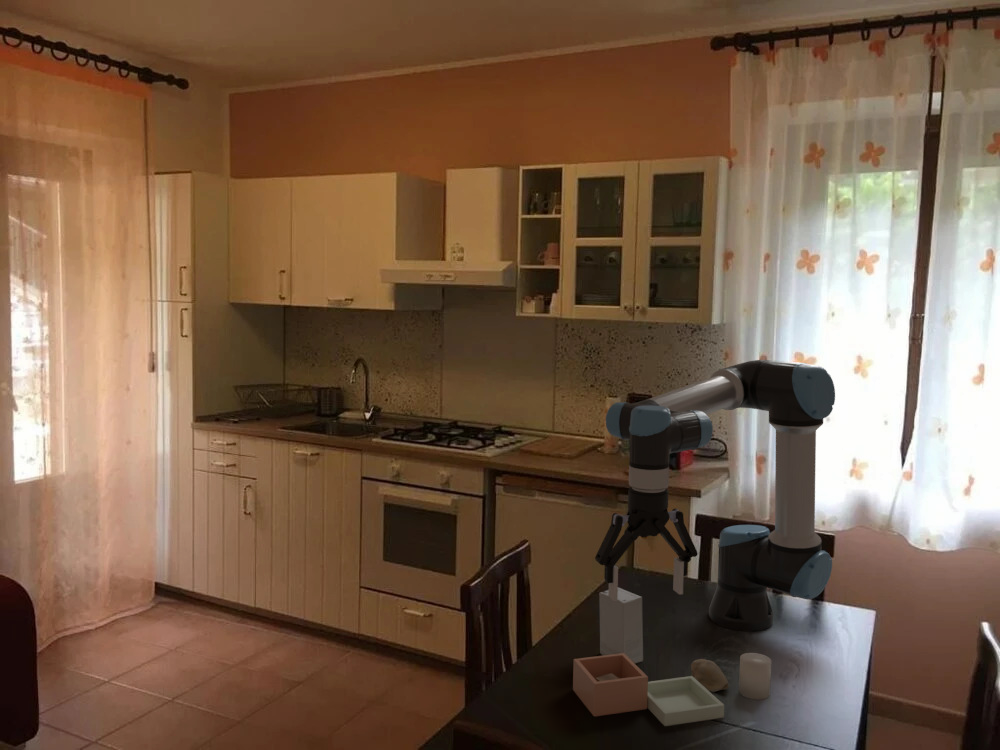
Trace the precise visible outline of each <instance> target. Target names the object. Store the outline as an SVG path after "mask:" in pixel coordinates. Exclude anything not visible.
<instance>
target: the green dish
mask: <svg viewBox="0 0 1000 750" xmlns="http://www.w3.org/2000/svg"><path fill="white" fill-rule="evenodd" d="M712 693H713V692H711V691H709V690H707V689H706V688H705V687H704V686H703V685H702V684H700V683H699V682H698V681H697V680H696V679H695V678H694V677H693V676H691V675H689V676H681V677H674V678H665V679H660V680H651V681H648V696H647V709H648V710H649V711H650V712H651V713H652V715H654V717H655V718H656V719H657V720H658V721H659V722H660V723H661V724H662V725H663V726H664V727H669V726H677V725H682V724H687V723H688V724H689V723H690V724H691V723H697V722H702V721H710V720H716V719H722V718H723V719H724V718H725V704H724V703H723V702H722V701H720V700H719V698H717V697H716V695H714V694H712Z"/></svg>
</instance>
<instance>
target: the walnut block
mask: <svg viewBox="0 0 1000 750" xmlns="http://www.w3.org/2000/svg"><path fill="white" fill-rule="evenodd" d="M614 679H620V678H618V677H617V676H615V675H613V674H612V673H610V674H607V675H603V676H600V677H597V678H595V680H596V681H597V682H598V681H606V680H614Z"/></svg>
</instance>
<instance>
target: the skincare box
mask: <svg viewBox="0 0 1000 750" xmlns="http://www.w3.org/2000/svg"><path fill="white" fill-rule="evenodd" d="M598 594H599V597H598V598H599V651H600V655H601V656H603V655H612V654H620V653H625V654H626V655H627V656H628V657H629V658H630V659H631V660H632V661H633V662H634V663H635V664H638V663H640V662H643V661H644V641H643V637H644V636H643V633H644V632H643V631H644V630H643V596H640V595H637V594H636V593H632V592H631V591H629V590H625V589H623V588H621V587H619V586H618V597H617V601H613V600H612V599H611V598H610V597H609V596H608V589H607V590H603V591H601V592H599V593H598Z"/></svg>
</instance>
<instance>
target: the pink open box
mask: <svg viewBox="0 0 1000 750" xmlns="http://www.w3.org/2000/svg"><path fill="white" fill-rule="evenodd" d="M636 664H637V663H634V662H633V661H632V660H631V659H630V658H629V657H628V656H627V655H626V654H625V653H620V654H612V655H598V656H597V655H596V656H589V657H581V658H574V659H573V668H572V671H573V672H572V673H573V674H572V675H573V676H572V691H573V692H574V693H575V694H576V696H577V697H578V698H579V700H580V701H581V702H582V704H583V705H584V706H585V708H586V709H588V711H589V712H590V713H591V714H592V716H593V717H595V718H596V717H600V716H609V715H613V714H623V713H628V712H635V711H645V710H647V709H648V708H647V696H648V682H649V676H648V675H646V673H645V672H644V671H643V670H642V669H640V667H639V666H638V665H636ZM610 673H612V674H613V675H615V676H617V677H618V678H620V679H614V680H606V681H598V682H597V681H596V680H595V678H597V677H600V676H603V675H607V674H610Z"/></svg>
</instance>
